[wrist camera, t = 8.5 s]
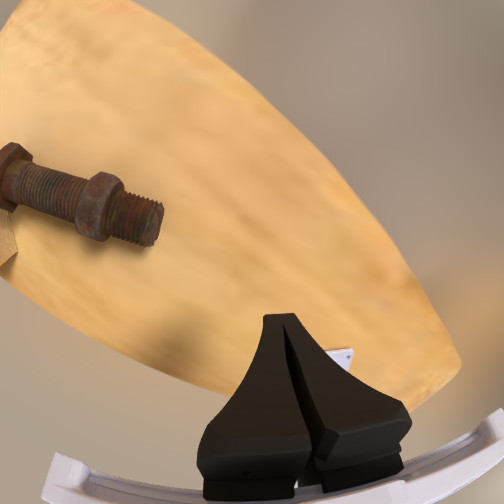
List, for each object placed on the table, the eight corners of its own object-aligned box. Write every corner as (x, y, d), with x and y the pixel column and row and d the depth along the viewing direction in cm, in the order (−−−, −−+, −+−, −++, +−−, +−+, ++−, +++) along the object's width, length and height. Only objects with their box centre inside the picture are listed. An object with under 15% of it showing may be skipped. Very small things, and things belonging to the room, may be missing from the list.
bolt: (168, 218, 21) (28, 174, 18) (177, 171, 17) (18, 130, 14) (144, 280, 18) (-7, 221, 15) (146, 238, 14) (-26, 178, 11)
